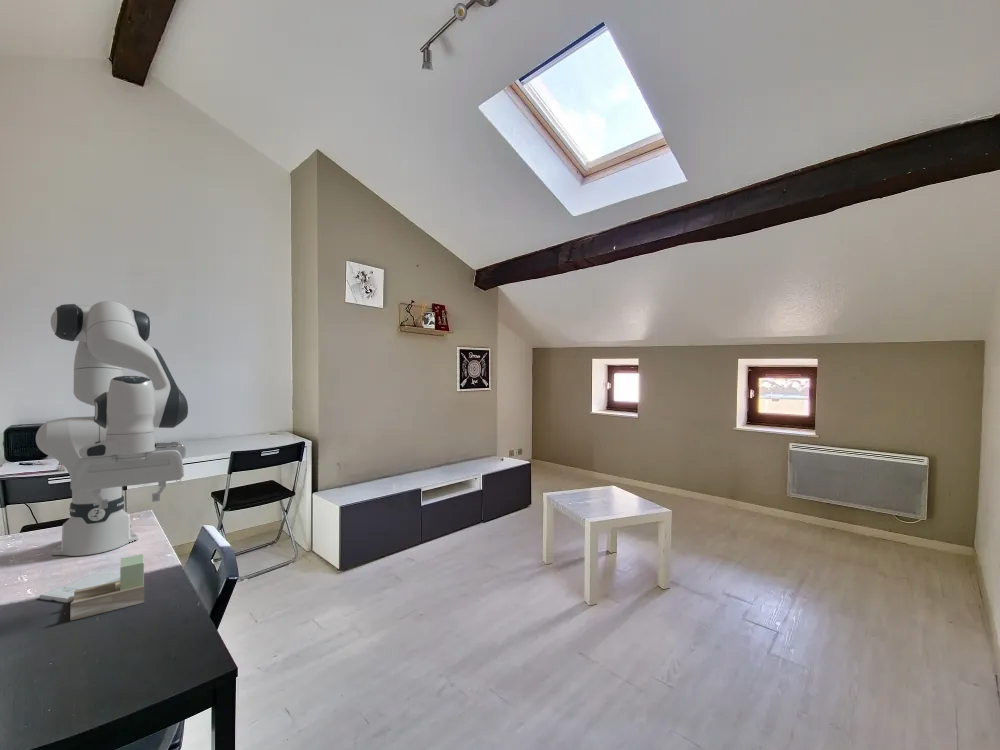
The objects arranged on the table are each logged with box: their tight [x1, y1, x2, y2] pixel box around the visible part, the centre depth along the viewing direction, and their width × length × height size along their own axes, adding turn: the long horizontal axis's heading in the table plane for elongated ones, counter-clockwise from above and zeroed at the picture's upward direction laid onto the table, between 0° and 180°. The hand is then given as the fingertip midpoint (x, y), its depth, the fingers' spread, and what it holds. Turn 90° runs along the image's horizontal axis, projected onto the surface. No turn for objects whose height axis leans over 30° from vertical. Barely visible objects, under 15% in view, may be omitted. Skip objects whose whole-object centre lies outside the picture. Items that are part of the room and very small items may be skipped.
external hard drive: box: [39, 570, 120, 604], centre depth 106 cm, size 2×8×12 cm
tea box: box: [119, 553, 145, 591], centre depth 103 cm, size 4×6×6 cm, turn 40°
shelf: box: [69, 580, 145, 622], centre depth 100 cm, size 12×12×4 cm
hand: (130, 504), depth 103 cm, fingers open, 8 cm apart
